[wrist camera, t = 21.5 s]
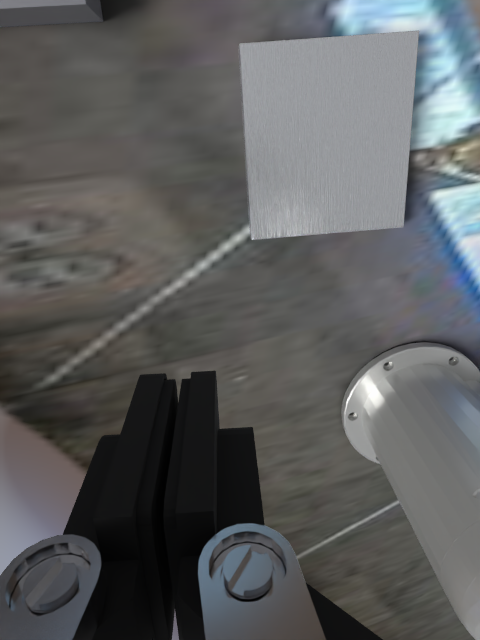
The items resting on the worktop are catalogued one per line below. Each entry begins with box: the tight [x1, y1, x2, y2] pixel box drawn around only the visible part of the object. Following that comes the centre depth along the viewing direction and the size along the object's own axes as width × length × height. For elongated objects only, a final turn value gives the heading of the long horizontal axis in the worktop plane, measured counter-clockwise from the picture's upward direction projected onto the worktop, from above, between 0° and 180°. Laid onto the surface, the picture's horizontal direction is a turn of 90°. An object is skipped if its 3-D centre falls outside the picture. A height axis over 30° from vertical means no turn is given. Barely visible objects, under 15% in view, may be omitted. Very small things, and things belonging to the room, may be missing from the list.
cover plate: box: [238, 31, 419, 240], centre depth 30 cm, size 2×12×11 cm
